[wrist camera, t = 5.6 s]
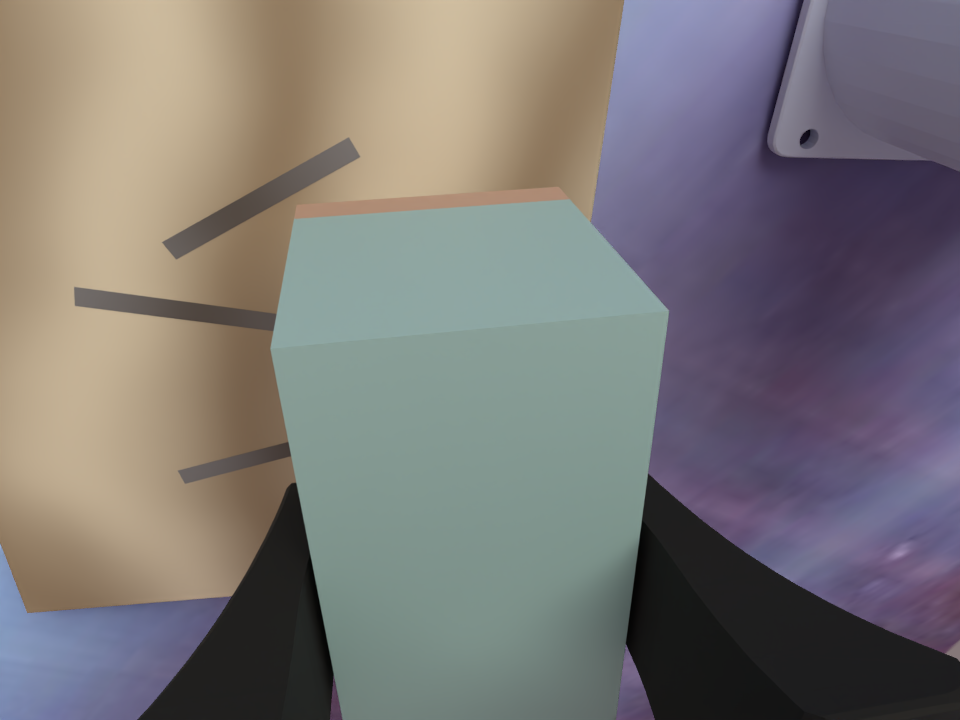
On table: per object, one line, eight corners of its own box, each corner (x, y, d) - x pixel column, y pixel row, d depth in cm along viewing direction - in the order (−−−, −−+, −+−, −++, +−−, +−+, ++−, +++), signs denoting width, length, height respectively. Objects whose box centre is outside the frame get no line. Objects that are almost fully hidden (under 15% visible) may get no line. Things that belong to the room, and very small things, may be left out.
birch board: (605, -29, 16) (627, -25, 15) (528, 539, 26) (538, 571, 24) (-189, -83, 14) (-244, -85, 12) (44, 575, 23) (27, 613, 21)
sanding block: (559, 186, 14) (669, 310, 9) (545, 528, 18) (614, 727, 14) (296, 204, 13) (270, 349, 8) (350, 554, 18) (353, 773, 13)
